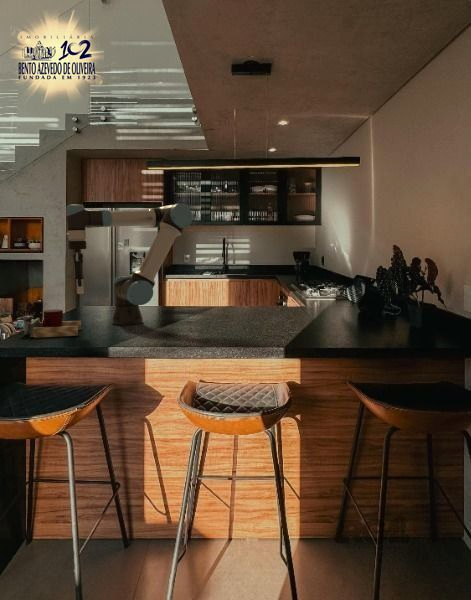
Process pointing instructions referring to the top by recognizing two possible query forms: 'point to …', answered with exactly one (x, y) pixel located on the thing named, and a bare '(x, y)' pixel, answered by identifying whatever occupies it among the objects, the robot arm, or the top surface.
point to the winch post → (27, 324)
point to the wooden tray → (54, 329)
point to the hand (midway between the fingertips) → (80, 293)
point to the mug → (53, 318)
